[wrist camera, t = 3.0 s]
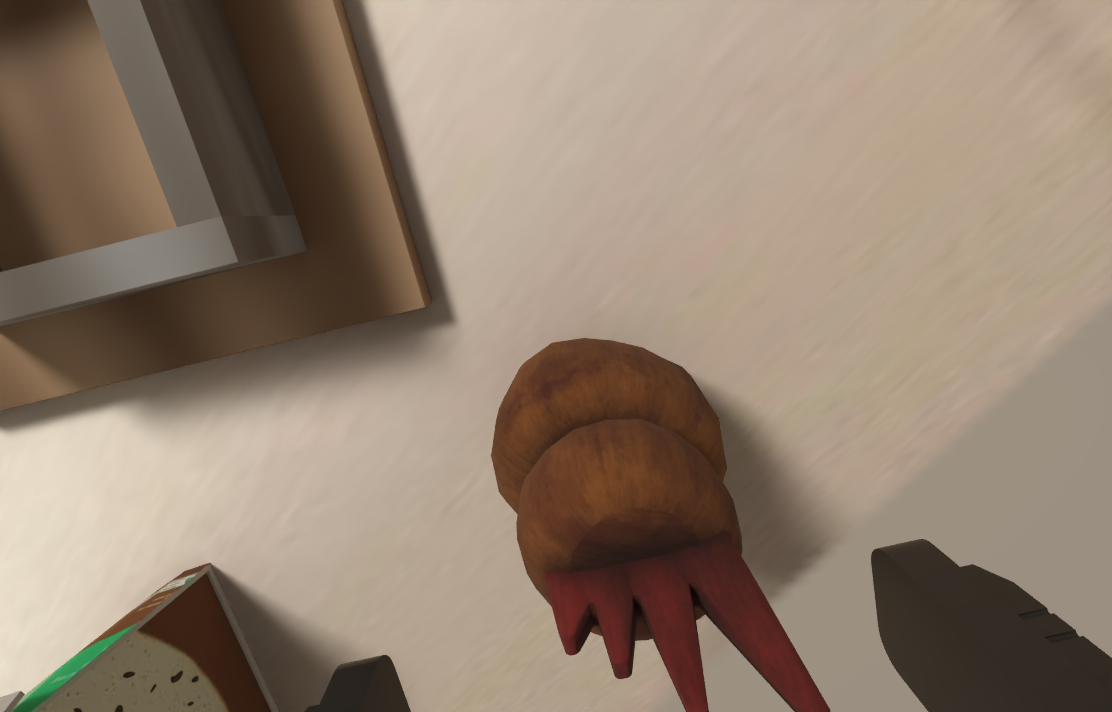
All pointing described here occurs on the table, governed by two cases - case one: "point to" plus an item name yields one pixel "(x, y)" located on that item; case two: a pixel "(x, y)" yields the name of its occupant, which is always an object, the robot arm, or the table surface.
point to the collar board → (186, 188)
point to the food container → (160, 660)
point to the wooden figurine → (634, 515)
